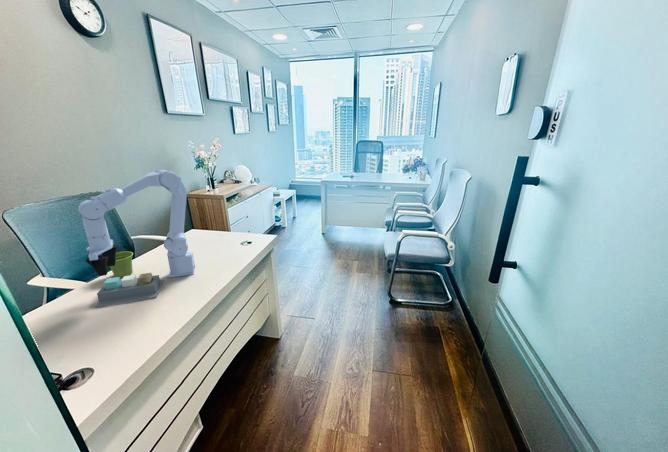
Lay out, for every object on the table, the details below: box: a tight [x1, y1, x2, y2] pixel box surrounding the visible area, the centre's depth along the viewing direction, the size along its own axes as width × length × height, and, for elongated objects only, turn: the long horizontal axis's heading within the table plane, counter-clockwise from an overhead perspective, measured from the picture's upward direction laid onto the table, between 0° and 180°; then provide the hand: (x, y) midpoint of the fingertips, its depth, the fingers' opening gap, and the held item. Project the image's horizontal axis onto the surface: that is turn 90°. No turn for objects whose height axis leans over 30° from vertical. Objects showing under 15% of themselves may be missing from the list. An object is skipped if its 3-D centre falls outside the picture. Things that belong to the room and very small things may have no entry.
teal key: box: [103, 277, 122, 290], centre depth 95 cm, size 4×4×4 cm
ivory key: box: [120, 274, 138, 287], centre depth 97 cm, size 4×4×4 cm
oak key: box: [137, 272, 153, 285], centre depth 99 cm, size 4×4×4 cm
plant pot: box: [109, 251, 134, 279], centre depth 110 cm, size 9×9×9 cm
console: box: [94, 274, 164, 309], centre depth 98 cm, size 18×13×4 cm
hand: (107, 270), depth 95 cm, fingers open, 7 cm apart
